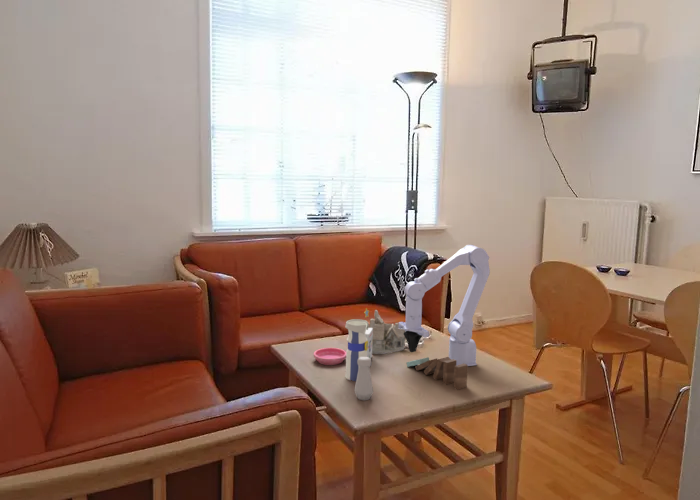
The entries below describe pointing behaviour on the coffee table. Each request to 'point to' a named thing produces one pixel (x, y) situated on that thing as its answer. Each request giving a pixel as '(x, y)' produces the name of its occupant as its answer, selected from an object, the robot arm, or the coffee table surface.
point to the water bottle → (356, 345)
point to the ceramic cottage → (386, 336)
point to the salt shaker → (363, 379)
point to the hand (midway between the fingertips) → (412, 351)
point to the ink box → (369, 341)
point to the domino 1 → (417, 362)
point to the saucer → (330, 356)
